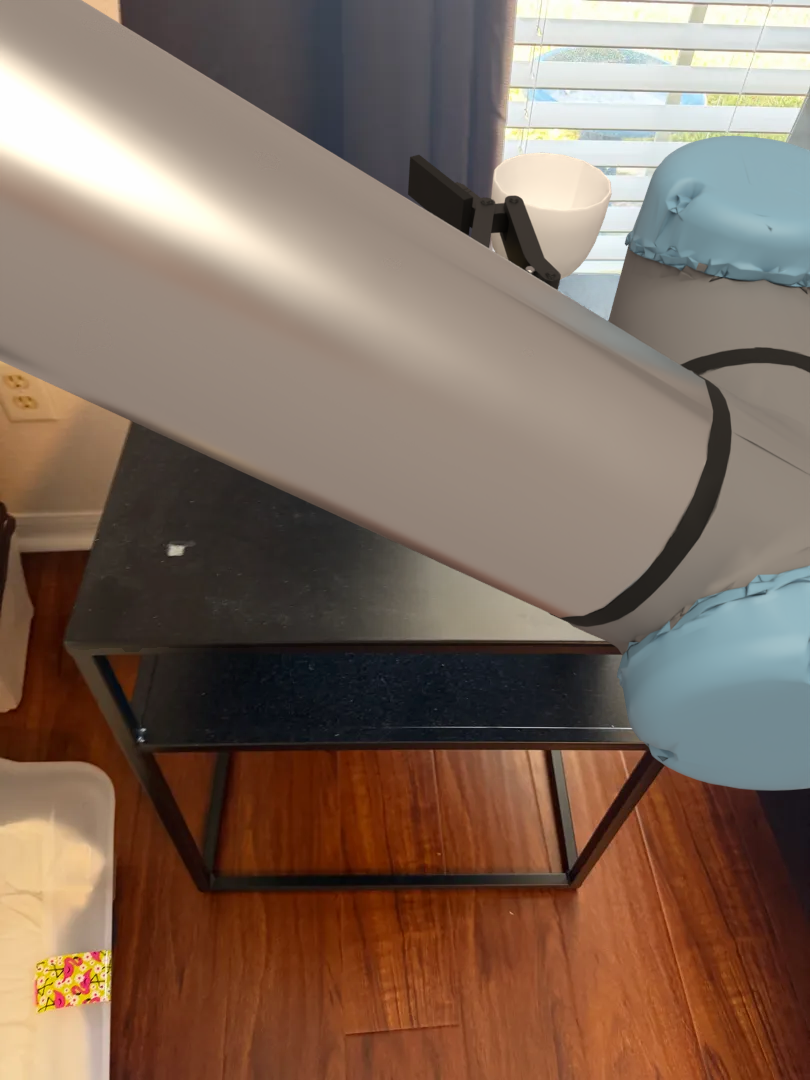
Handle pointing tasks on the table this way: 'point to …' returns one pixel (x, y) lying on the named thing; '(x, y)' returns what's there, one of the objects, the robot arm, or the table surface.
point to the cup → (555, 204)
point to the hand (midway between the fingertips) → (327, 196)
